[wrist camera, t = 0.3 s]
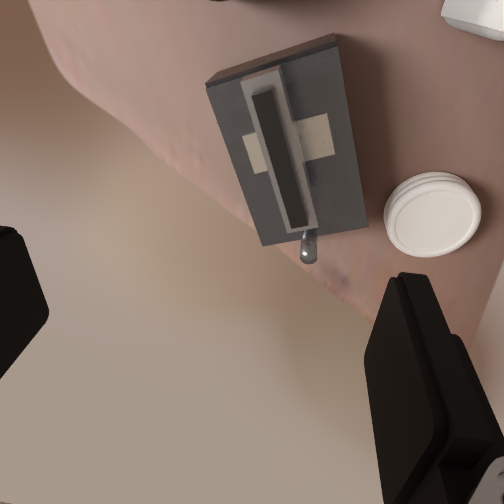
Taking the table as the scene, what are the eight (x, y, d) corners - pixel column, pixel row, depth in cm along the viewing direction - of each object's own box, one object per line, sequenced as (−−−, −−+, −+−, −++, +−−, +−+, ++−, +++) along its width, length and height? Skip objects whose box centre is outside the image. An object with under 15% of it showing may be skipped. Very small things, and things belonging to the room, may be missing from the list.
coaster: (382, 175, 43) (387, 189, 41) (478, 163, 41) (490, 177, 38) (382, 246, 49) (386, 262, 46) (466, 239, 47) (476, 256, 44)
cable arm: (244, 76, 30) (238, 85, 28) (280, 64, 29) (277, 72, 27) (288, 222, 37) (286, 239, 35) (318, 216, 37) (318, 233, 34)
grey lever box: (217, 71, 39) (184, 103, 29) (333, 32, 36) (341, 53, 26) (267, 219, 49) (255, 282, 39) (362, 200, 45) (376, 263, 35)
